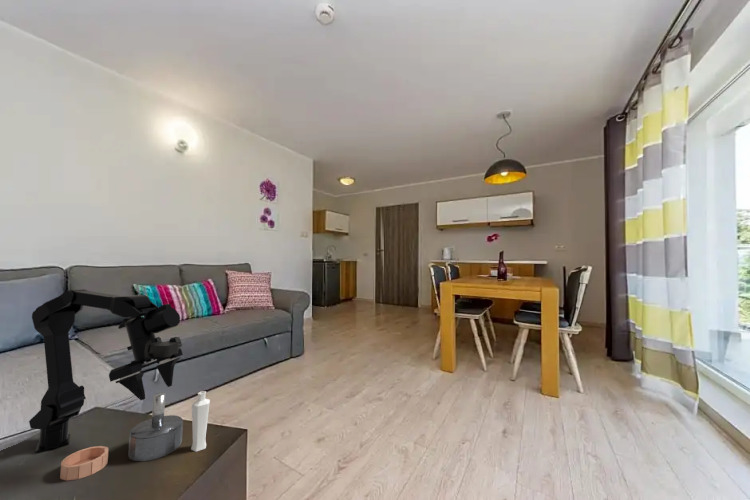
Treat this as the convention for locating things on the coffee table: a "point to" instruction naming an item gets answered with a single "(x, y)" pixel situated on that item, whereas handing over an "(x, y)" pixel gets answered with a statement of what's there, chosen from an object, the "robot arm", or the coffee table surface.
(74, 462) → the terracotta bowl
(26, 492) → the coffee table surface
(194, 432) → the perfume bottle
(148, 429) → the grey stemmed oval block
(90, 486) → the coffee table surface
